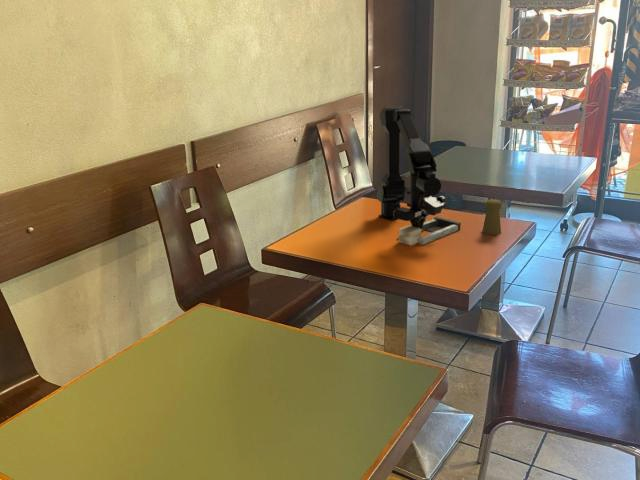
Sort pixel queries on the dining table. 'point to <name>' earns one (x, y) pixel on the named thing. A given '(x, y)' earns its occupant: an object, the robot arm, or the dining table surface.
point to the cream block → (409, 235)
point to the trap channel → (438, 229)
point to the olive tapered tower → (492, 217)
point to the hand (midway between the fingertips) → (418, 233)
